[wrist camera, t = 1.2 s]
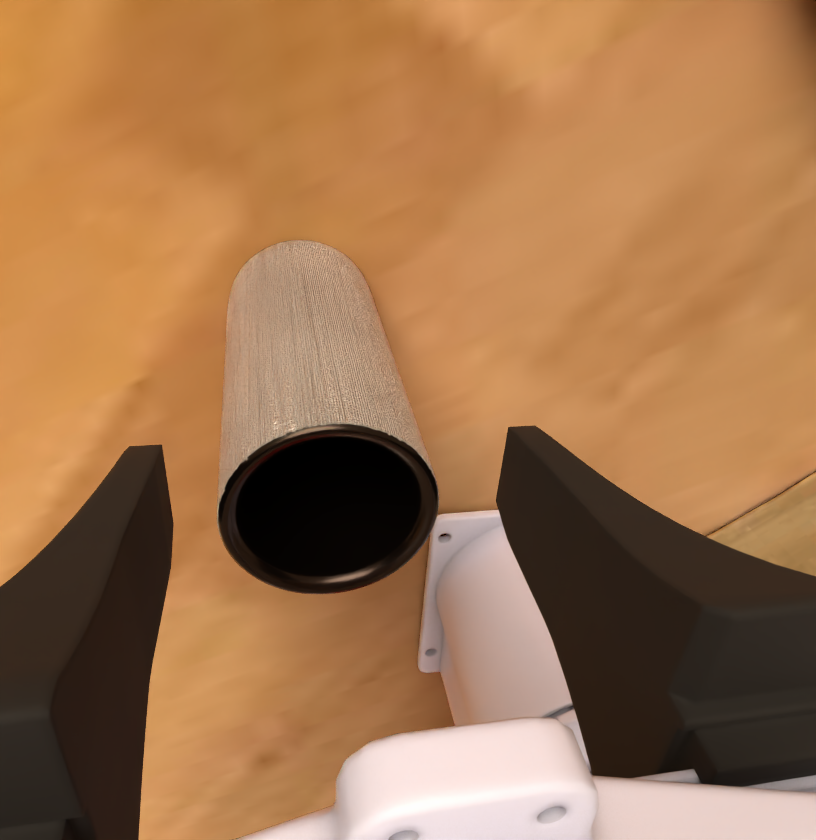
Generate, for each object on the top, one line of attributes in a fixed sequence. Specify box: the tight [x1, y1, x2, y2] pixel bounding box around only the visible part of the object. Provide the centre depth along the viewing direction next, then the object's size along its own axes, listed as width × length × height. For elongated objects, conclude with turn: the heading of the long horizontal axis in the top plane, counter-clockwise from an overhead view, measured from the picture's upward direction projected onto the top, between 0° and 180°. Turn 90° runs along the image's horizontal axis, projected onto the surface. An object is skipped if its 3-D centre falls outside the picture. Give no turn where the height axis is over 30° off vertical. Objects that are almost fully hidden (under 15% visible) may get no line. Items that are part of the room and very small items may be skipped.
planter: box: [217, 240, 439, 594], centre depth 19 cm, size 4×4×10 cm
